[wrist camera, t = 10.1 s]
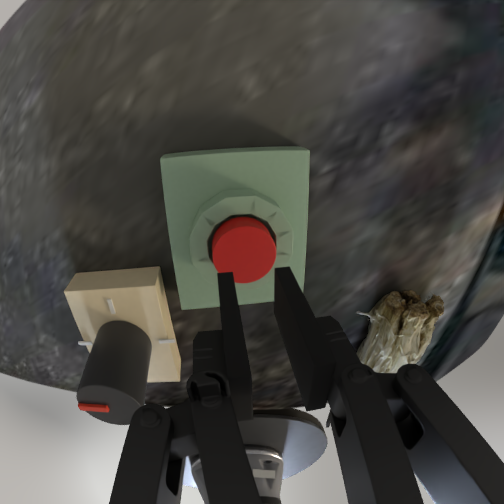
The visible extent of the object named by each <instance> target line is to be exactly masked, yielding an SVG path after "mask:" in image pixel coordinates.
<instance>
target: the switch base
mask: <svg viewBox="0 0 504 504" xmlns="http://www.w3.org/2000/svg"><path fill="white" fill-rule="evenodd" d="M309 155H310V151H309V150H308V149H305V148H303V147H301V146H280V147H248V148H229V149H214V150H201V151H190V152H179V153H170V154H164V155H163V156H162V157H161V158H160V164H161V174H162V184H163V193H164V201H165V209H166V217H167V224H168V231H169V238H170V245H171V252H172V258H173V264H174V270H175V276H176V282H177V288H178V293H179V299H180V304H181V309H182V310H185V309H198V308H210V307H220V301H219V290H218V278H217V273H218V271H217V270H216V268H215V266H214V263H213V257H212V240H213V236H214V234H215V232H216V231H217V229H218V228H219V227H220V226H221V225H222V224H223V223H224V222H226V221H228V220H230V219H232V218H236V217H250V218H254V219H256V220H258V221H260V222H261V223H263V224H264V225H265V227H266V228H267V229H268V231H269V233H270V235H271V237H272V239H273V241H274V243H275V246H276V259H275V262H274V265H273V267H272V268H271V270H270V271H269V272H268V273H267V274H266V275H265V276H264V277H262V278H261V279H259V280H257V281H254V282H251V283H235V288H236V293H237V299H238V305H243V304H253V303H262V302H271V301H274V272H275V268H278V267H289V266H290V268H291V270H292V272H293V274H294V276H295V278H296V280H297V282H298V284H299V286H300V288H301V290H302V292H303V288H304V274H305V258H306V241H307V220H308V195H309Z"/></svg>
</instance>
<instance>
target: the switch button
mask: <svg viewBox="0 0 504 504" xmlns="http://www.w3.org/2000/svg"><path fill="white" fill-rule="evenodd" d="M212 257H213V263H214V266H215V268H216V270H217V271H218V273H224V272H233V276H234V282H235V283H251V282H254V281H257V280H259V279H261V278H262V277H264V276H265V275H266V274H267V273H268V272H269V271H270V270H271V268H272V267H273V265H274V262H275V259H276V246H275V243H274V241H273V239H272V237H271V235H270V233H269V231H268V229H267V228H266V227H265V225H264V224H263V223H261V222H260V221H258V220H256V219H254V218H250V217H236V218H232V219H230V220H228V221H226V222H224V223H223V224H222V225H221V226H220V227H219V228H218V229H217V231H216V232H215V234H214V236H213V240H212Z"/></svg>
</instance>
